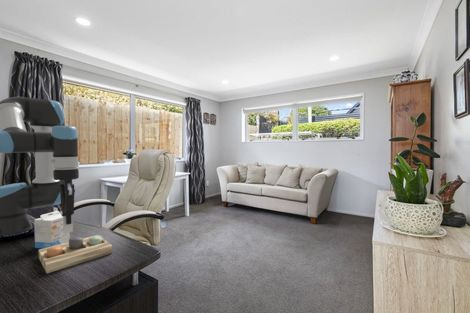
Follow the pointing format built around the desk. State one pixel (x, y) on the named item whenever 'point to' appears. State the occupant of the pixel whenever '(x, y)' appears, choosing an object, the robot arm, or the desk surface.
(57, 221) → the ink box
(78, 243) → the charcoal button
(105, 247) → the panel
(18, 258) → the desk surface
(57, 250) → the orange button
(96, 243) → the sage button
